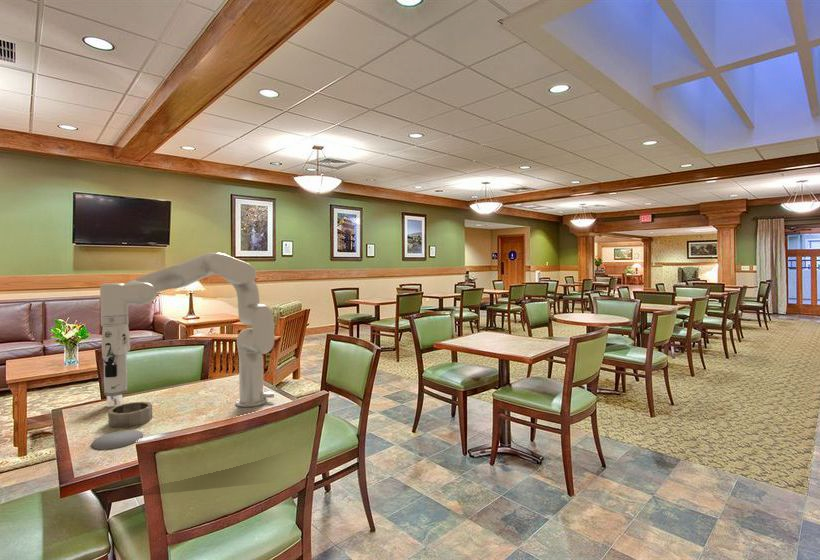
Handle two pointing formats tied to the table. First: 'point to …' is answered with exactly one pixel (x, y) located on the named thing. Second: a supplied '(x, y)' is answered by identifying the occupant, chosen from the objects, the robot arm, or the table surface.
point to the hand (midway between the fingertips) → (116, 373)
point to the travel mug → (118, 383)
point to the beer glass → (114, 401)
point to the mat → (117, 439)
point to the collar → (130, 414)
